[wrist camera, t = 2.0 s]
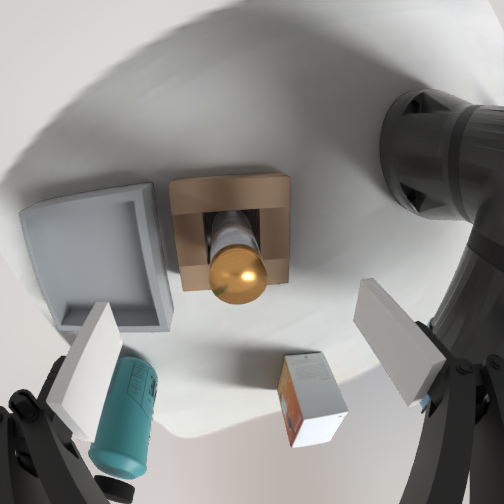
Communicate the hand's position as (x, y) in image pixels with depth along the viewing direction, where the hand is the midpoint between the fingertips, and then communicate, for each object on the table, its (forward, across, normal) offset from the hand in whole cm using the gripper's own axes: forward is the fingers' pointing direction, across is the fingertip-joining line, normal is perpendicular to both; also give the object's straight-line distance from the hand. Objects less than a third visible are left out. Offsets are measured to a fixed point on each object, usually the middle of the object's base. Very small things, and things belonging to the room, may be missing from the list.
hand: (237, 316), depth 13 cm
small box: (+14, -8, +22) cm, 28 cm away
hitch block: (+14, 0, 0) cm, 14 cm away
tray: (+14, +14, +2) cm, 20 cm away
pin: (+14, 0, 0) cm, 14 cm away
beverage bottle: (+14, +14, +18) cm, 27 cm away
